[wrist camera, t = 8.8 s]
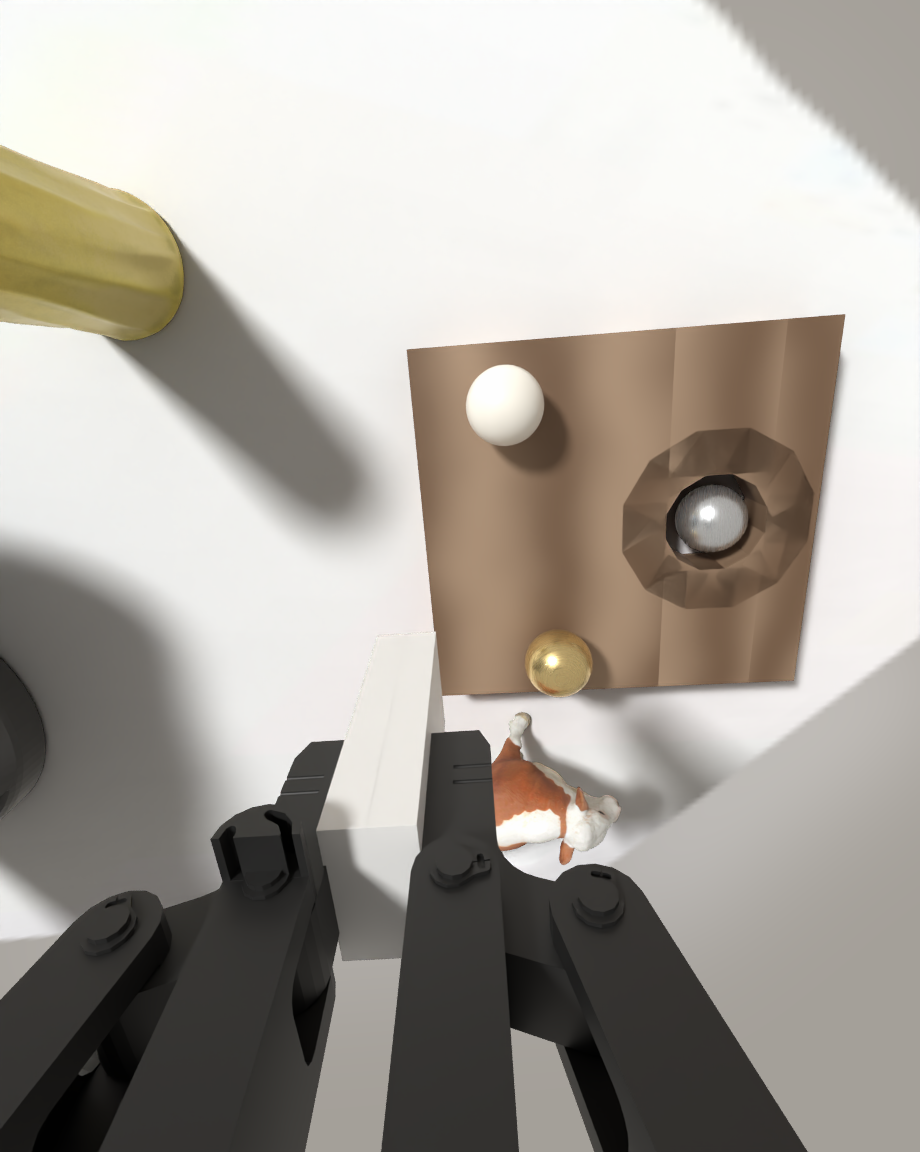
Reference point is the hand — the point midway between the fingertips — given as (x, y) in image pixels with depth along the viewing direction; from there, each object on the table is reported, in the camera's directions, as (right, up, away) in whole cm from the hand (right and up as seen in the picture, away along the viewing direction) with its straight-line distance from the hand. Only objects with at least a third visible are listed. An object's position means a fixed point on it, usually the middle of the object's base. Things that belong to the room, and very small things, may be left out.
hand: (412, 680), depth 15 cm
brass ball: (+6, -1, +13) cm, 14 cm away
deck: (+9, +6, +14) cm, 18 cm away
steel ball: (+13, +5, +12) cm, 19 cm away
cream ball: (+3, +10, +9) cm, 13 cm away
